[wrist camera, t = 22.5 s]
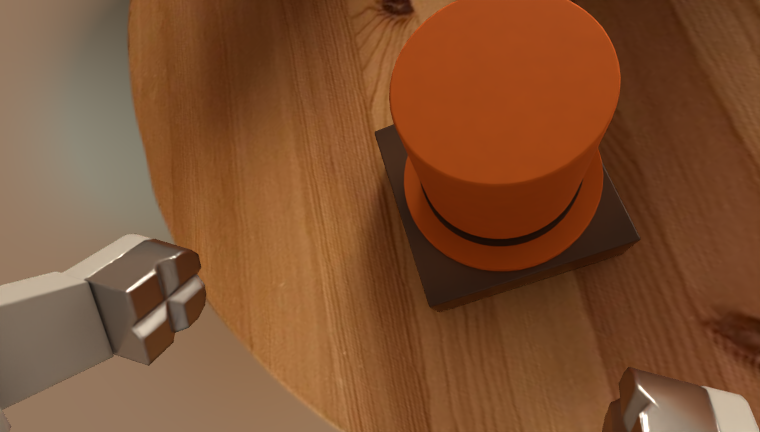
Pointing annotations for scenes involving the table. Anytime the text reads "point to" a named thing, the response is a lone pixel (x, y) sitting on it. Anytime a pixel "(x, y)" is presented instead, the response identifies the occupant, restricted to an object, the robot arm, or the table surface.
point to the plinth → (467, 284)
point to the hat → (504, 127)
